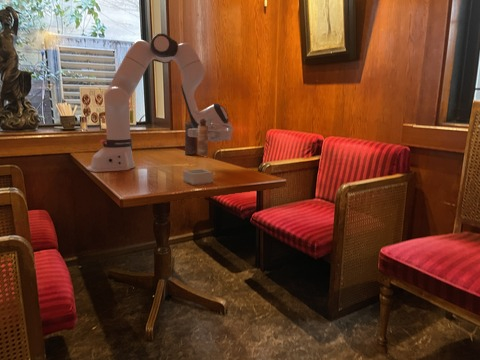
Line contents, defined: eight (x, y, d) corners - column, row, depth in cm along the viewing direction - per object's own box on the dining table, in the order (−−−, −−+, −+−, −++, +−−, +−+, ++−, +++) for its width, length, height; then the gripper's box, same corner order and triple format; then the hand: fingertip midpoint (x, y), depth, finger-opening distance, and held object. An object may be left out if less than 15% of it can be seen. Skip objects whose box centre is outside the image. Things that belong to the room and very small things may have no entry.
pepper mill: (201, 155, 163) (201, 119, 160) (196, 154, 167) (196, 118, 163) (209, 155, 166) (209, 119, 162) (204, 153, 169) (204, 118, 166)
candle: (193, 153, 233) (193, 121, 229) (199, 154, 228) (199, 122, 223) (182, 154, 229) (182, 121, 224) (188, 155, 223) (188, 122, 219)
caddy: (193, 185, 148) (193, 174, 147) (183, 181, 156) (183, 170, 155) (212, 182, 153) (212, 172, 152) (201, 178, 161) (201, 168, 160)
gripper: (195, 124, 179) (181, 126, 166) (234, 126, 172) (223, 128, 159) (195, 137, 180) (181, 140, 168) (234, 140, 174) (223, 143, 161)
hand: (202, 134), depth 163 cm, fingers closed on pepper mill, 4 cm apart
